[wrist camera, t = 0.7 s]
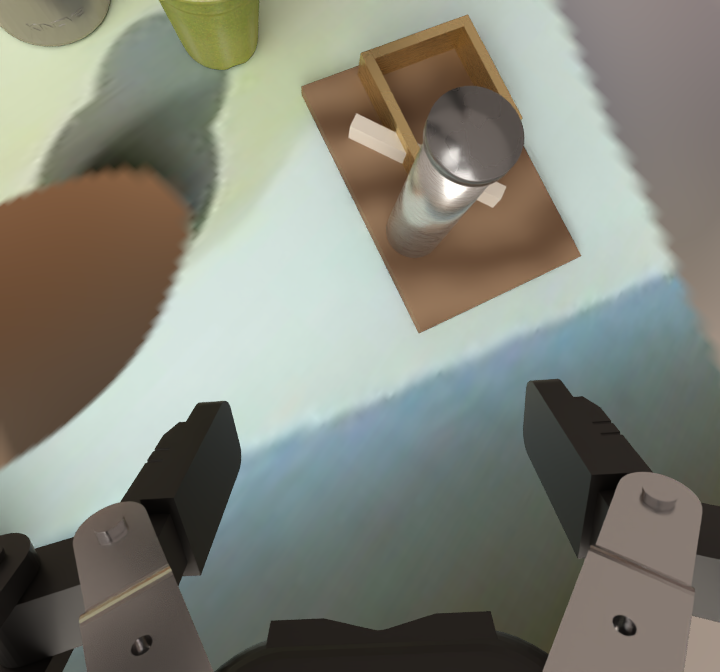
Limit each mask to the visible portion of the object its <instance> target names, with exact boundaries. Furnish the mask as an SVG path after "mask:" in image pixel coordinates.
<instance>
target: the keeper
mask: <svg viewBox="0 0 720 672" xmlns="http://www.w3.org/2000/svg"><path fill="white" fill-rule="evenodd" d="M452 49H455V51H456V53H457V55H458V57H459V59H460V60H461V62H462V64H463V66H464V68H465V70H466V72H467V74H468V76H469V78H470V80H471V82H472V83H473V85H474V86H479V87H484V88H487V89H490V90H492V91H494V92H496V93H498V94H499V95H501V96H502V97H504V98H505V99H506V100H507V101H508V102H509V103H510V104H511V105H512V106H513V107H514V109H515V110H516V112H517V113H518V115H519V117H520V120H522V116H521V114H520V112H519V110H518V109H517V107H516V105H515V103H514V101H513V99H512V97H511V95H510V93H509V91H508V90H507V88H506V86H505V84H504V82H503V80H502V78H501V76H500V74H499V73H498V71H497V69H496V67H495V65H494V63H493V61H492V59H491V57H490V55H489V54H488V52H487V50H486V48H485V46H484V44H483V42H482V40H481V38H480V37H479V35H478V33H477V31H476V29H475V27H474V25H473V23H472V21H471V19H470V18H469V16H468V15H465V16H462V17H460V18H457V19H454V20H451V21H449V22H446V23H443V24H440V25H437V26H435V27H432V28H429V29H426V30H424V31H421V32H418V33H415V34H412V35H410V36H407V37H404V38H401V39H399V40H396V41H393V42H390V43H387V44H385V45H382V46H379V47H376V48H373V49H371V50H368V51H365V52H362V53H361V55H360V61H359V68H358V77H359V79H360V81H361V83H362V85H363V87H364V89H365V91H366V93H367V95H368V97H369V99H370V101H371V103H372V105H373V107H374V109H375V111H376V113H377V115H378V117H379V119H380V121H381V123H382V125H383V127H385V128H388V129H390V130H392V131H394V132H396V134H397V136H398V138H399V140H400V142H401V144H402V146H403V148H404V150H405V152H406V156H405V158H404V161H403V163H402V164H403V166H404V168H405V170H406V172H407V174H409V172H410V170H411V168H412V165H413V163H414V161H415V159H416V156H417V154H418V152H419V150H420V147H419V145H418V143H417V141H416V139H415V138H414V136H413V134H412V132H411V130H410V128H409V126H408V124H407V122H406V120H405V118H404V116H403V114H402V112H401V110H400V108H399V106H398V104H397V102H396V100H395V98H394V96H393V94H392V92H391V90H390V88H389V86H388V84H387V82H386V80H385V78H384V76H383V75H385V74H388V73H390V72H393V71H396V70H398V69H401V68H404V67H406V66H409V65H412V64H414V63H417V62H420V61H423V60H425V59H428V58H431V57H433V56H436V55H439V54H441V53H444V52H447V51H449V50H452Z"/></svg>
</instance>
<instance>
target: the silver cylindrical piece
mask: <svg viewBox="0 0 720 672" xmlns="http://www.w3.org/2000/svg"><path fill="white" fill-rule="evenodd" d="M523 145H524V131H523V126H522V122H521V120H520V117H519V115H518V113H517V112H516V110H515V109H514V107H513V106H512V105H511V104H510V103H509V102H508V101H507V100H506V99H505V98H504V97H502V96H501V95H499V94H498V93H496V92H494V91H492V90H490V89H487V88H484V87H479V86H462V87H458V88H455V89H452V90H450V91H448V92H446V93H445V94H443V95H442V96H441V97H440V98H439V99H438V100H437V101H436V102H435V103H434V105H433V107H432V108H431V111H430V113H429V115H428V118H427V120H426V122H425V125H424V129H423V143H422V145H421V148H420V150H419V152H418V154H417V156H416V159H415V161H414V163H413V165H412V168H411V170H410V172H409V174H408V176H407V179H406V181H405V183H404V185H403V188H402V190H401V192H400V194H399V196H398V199H397V201H396V203H395V205H394V208H393V210H392V212H391V214H390V216H389V219H388V221H387V224H386V235H387V239H388V241H389V243H390V245H391V246H392V247H393V249H394V250H395V251H397V252H398V253H400V254H401V255H403V256H406V257H410V258H419V257H423V256H426V255H428V254H429V253H431V252H432V251H433V250H434V249H435V248H436V247H437V245H438V244H439V243H440V242H441V241H442V240H443V238H444V237H445V236H446V235H447V234H448V233H449V231H450V230H451V229H452V228H453V227H454V225H455V224H456V223H457V222H458V221H459V220H460V218H461V217H462V216H463V215H464V214H465V213H466V211H467V210H468V209H469V208H470V207H471V206H472V204H473V203H474V202H475V201H476V200H477V199H478V197H479V196H480V195H481V194H482V193H483V192H484V190H485V189H486V188H487V187H488V186H489V185H490V184H493V183H495V182H497V181H498V180H500V179H501V178H502V177H504V176H505V175H506V174H507V173H508V171H509V170H510V169H511V168H512V167H513V166H514V165H515V163H516V162H517V160H518V159H519V157H520V155H521V152H522V149H523Z"/></svg>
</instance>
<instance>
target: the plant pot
mask: <svg viewBox="0 0 720 672" xmlns="http://www.w3.org/2000/svg"><path fill="white" fill-rule="evenodd" d="M159 1H160V3H161V5H162V7H163V9H164V11H165V12H166V14H167V16H168V18H169V20H170V22H171V23H172V25H173V27H174V29H175V31H176V33H177V35H178V37H179V38H180V40H181V42H182V44H183V46H184V47H185V49H186V51H187V52H188V53H189V55H190V56H191V57H192V58H193V59H194V60H195V61H197V62H198V63H200V64H202V65H204V66H206V67H209V68H212V69H218V70H226V69H229V68H230V67H232V66H235V65H238V64H242V63H245V62H246V61H247V60H248V59H249V58H250V57H251V56H252V55H253V53H254V51H255V49H256V46H257V41H258V16H259V0H159Z"/></svg>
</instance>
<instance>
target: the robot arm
mask: <svg viewBox="0 0 720 672" xmlns="http://www.w3.org/2000/svg"><path fill="white" fill-rule="evenodd" d="M109 4H110V0H0V26H1V27H2V28H3V29H4V30H5V31H6V32H8V33H9V34H10V35H12V36H14V37H16V38H17V39H19V40H21V41H24V42H27V43H30V44H33V45H40V46H61V45H65V44H70V43H73V42H75V41H78V40H80V39H82V38H84V37H86V36H87V35H89V34H90V33H91V32H93V31H94V30H95V29H96V28H97V27H98V26H99V25H100V24H101V22H102V21H103V19H104V17H105V15H106V14H107V11H108V7H109ZM523 437H524V444H525V448H526V451H527V454H528V456H529V458H530V460H531V462H532V464H533V466H534V468H535V470H536V472H537V475H538V477H539V479H540V481H541V483H542V485H543V487H544V489H545V491H546V493H547V495H548V497H549V499H550V502H551V504H552V506H553V508H554V510H555V512H556V514H557V516H558V518H559V520H560V522H561V524H562V527H563V529H564V531H565V533H566V535H567V537H568V539H569V541H570V543H571V545H572V547H573V549H574V552H575V554H576V556H577V558H586V559H585V561H584V564H583V566H582V569H581V572H580V574H579V577H578V580H577V582H576V585H575V587H574V590H573V593H572V595H571V598H570V601H569V603H568V606H567V608H566V611H565V614H564V616H563V619H562V622H561V624H560V627H559V629H558V632H557V635H556V637H555V640H554V643H553V645H552V648H551V650H550V653H549V654H547V653H546V652H544V651H543V650H541V649H539V648H538V647H536V646H535V645H533V644H531V643H529V642H527V641H525V640H523V639H520V638H518V637H515V636H513V635H510V634H507V633H504V632H499V631H495V627H494V623H493V619H492V615H491V611H486V612H462V613H439V614H433V615H430V616H427V617H423V618H420V619H417V620H414V621H411V622H408V623H404V624H401V625H398V626H395V627H392V628H389V629H385V630H372V629H368V628H363V627H359V626H355V625H350V624H346V623H341V622H337V621H333V620H328V619H301V620H278V621H271V623H270V628H269V633H268V639H267V641H264V642H261V643H258V644H256V645H254V646H252V647H249V648H247V649H245V650H244V651H242V652H240V653H239V654H237V655H235V656H234V657H232V658H231V659H230V660H228V661H227V662H226V663H224V664H223V665H222V666H220V667H219V668H218V669H217V670H216V671H215V672H684V667H685V659H686V653H687V646H688V638H689V631H690V625H691V618H692V616H695V617H699V618H704V619H708V620H712V621H716V622H720V506H715V505H709V504H705V503H701V502H700V501H699V499H698V497H697V496H696V495H695V494H694V493H693V492H692V491H691V490H690V489H689V488H687V487H686V486H685V485H683V484H681V483H680V482H678V481H676V480H674V479H672V478H669V477H667V476H664V475H660V474H656V473H653V472H652V471H651V469H650V468H649V467H648V466H647V464H646V463H645V462H644V461H643V460H642V458H641V457H640V456H639V455H638V453H637V452H636V451H635V450H634V448H633V447H632V446H631V445H630V443H629V442H628V441H627V440H626V439H625V437H624V436H623V435H620V431H619V430H618V429H617V427H616V426H615V425H614V424H613V423H611V420H610V419H609V418H608V416H607V415H606V414H605V413H604V411H603V410H602V409H601V408H600V407H599V406H597V405H596V404H594V403H592V402H591V401H589V400H588V399H586V398H584V397H583V396H581V397H573V396H572V395H571V393H570V392H569V391H568V389H567V388H566V387H565V385H564V384H563V383H562V381H561V380H560V379H549V380H534V381H529V382H528V383H527V387H526V398H525V411H524V424H523ZM147 461H148V462H147V463H145V465H144V466H143V468H142V469H141V471H140V472H139V474H138V476H137V477H136V479H135V480H134V482H133V483H132V485H131V486H130V488H129V489H128V491H127V493H126V494H125V496H124V497H123V499H122V500H121V502H120V503H116V504H113V505H110V506H107V507H105V508H103V509H101V510H99V511H98V512H96V513H95V514H93V515H92V516H90V517H89V518H88V519H87V520H86V521H85V522H84V523H83V524H82V525H81V526H80V527H79V529H78V530H77V532H76V534H75V536H74V537H72V538H69V539H66V540H62V541H59V542H56V543H52V544H49V545H46V546H42V547H39V548H36V549H34V547H33V545H32V543H31V541H30V540H29V538H28V537H27V536H26V535H24V534H20V533H10V534H5V535H1V536H0V672H62V671H63V669H64V667H65V665H66V663H67V661H68V659H69V657H70V655H71V653H72V651H73V649H74V648H76V647H79V646H82V645H83V649H84V655H85V661H86V667H87V672H213V669H212V667H211V664H210V662H209V660H208V657H207V655H206V652H205V650H204V648H203V645H202V643H201V640H200V638H199V636H198V633H197V631H196V628H195V626H194V623H193V621H192V619H191V616H190V614H189V611H188V609H187V607H186V604H185V602H184V599H183V597H182V594H181V592H180V590H179V587H178V586H179V583H180V581H181V578H182V576H197V575H201V573H202V570H203V568H204V565H205V562H206V560H207V557H208V554H209V551H210V549H211V546H212V543H213V540H214V538H215V535H216V532H217V529H218V527H219V524H220V521H221V519H222V516H223V513H224V510H225V508H226V505H227V502H228V499H229V497H230V494H231V491H232V488H233V486H234V483H235V480H236V478H237V475H238V472H239V469H240V464H241V448H240V443H239V439H238V435H237V431H236V427H235V423H234V419H233V416H232V412H231V408H230V405H229V403H228V402H227V401H217V402H202V403H198V404H197V405H196V406H195V408H194V409H193V411H192V413H191V414H190V416H189V418H188V419H187V421H186V422H179V423H178V424H176V425H175V426H174V427H173V428H172V429H170V430H169V431H168V432H167V433H165V434H164V435H163V437H162V438H161V440H160V441H159V443H158V445H157V446H156V448H155V451H153V452H152V454H151V455H150V457H149V458H148V460H147Z"/></svg>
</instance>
